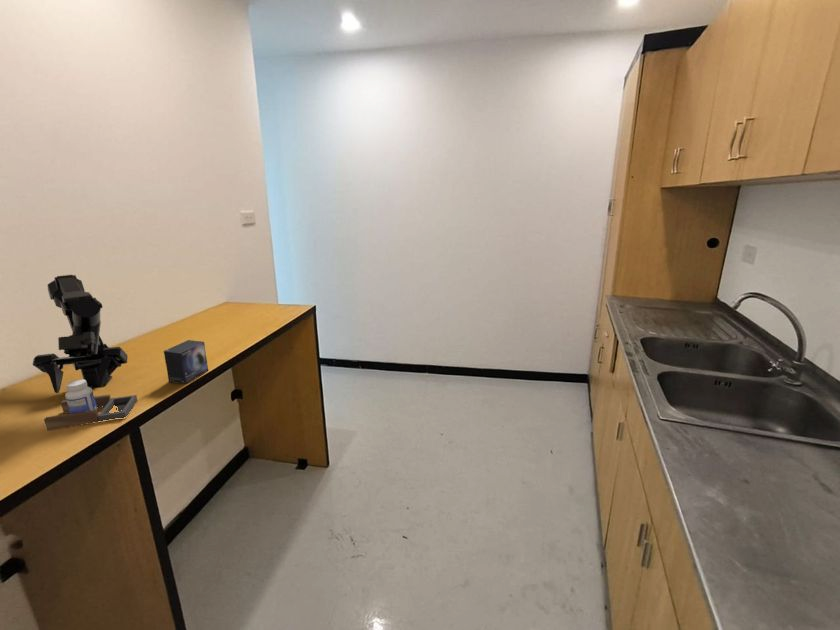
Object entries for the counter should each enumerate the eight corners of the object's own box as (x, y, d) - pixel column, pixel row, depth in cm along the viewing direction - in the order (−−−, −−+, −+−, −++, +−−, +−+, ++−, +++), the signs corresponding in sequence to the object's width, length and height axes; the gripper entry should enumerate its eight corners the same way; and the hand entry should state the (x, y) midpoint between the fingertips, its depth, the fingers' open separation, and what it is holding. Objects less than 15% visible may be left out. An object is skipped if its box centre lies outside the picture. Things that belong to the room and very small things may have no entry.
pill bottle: (85, 410, 108) (76, 377, 105) (103, 411, 108) (95, 378, 105) (65, 420, 103) (56, 386, 100) (84, 422, 102) (75, 387, 100)
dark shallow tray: (113, 404, 111) (111, 398, 111) (137, 400, 113) (136, 394, 113) (99, 422, 102) (97, 416, 102) (126, 418, 104) (124, 412, 104)
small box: (186, 384, 123) (180, 352, 120) (167, 382, 124) (161, 351, 121) (209, 370, 133) (205, 340, 130) (192, 368, 134) (187, 339, 131)
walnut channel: (65, 410, 108) (62, 400, 107) (112, 404, 111) (109, 394, 110) (47, 430, 99) (43, 419, 98) (98, 422, 102) (95, 412, 101)
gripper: (25, 325, 100) (13, 384, 93) (114, 318, 106) (109, 372, 99) (49, 344, 109) (39, 399, 103) (130, 336, 116) (125, 388, 109)
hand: (78, 389), depth 103 cm, fingers open, 9 cm apart
